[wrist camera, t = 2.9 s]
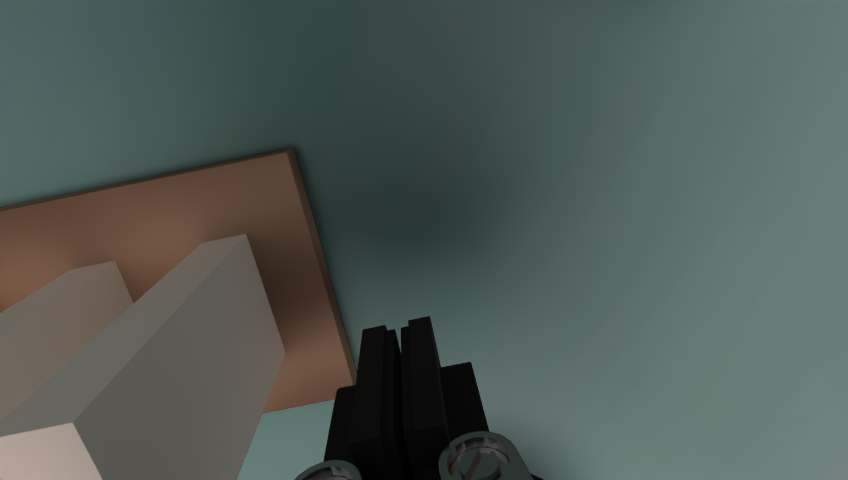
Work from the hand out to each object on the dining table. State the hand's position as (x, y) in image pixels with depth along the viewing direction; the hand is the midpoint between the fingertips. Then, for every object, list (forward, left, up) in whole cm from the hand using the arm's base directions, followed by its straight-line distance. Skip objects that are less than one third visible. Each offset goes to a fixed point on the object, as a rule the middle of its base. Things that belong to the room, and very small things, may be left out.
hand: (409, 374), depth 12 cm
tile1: (0, -6, -7) cm, 9 cm away
